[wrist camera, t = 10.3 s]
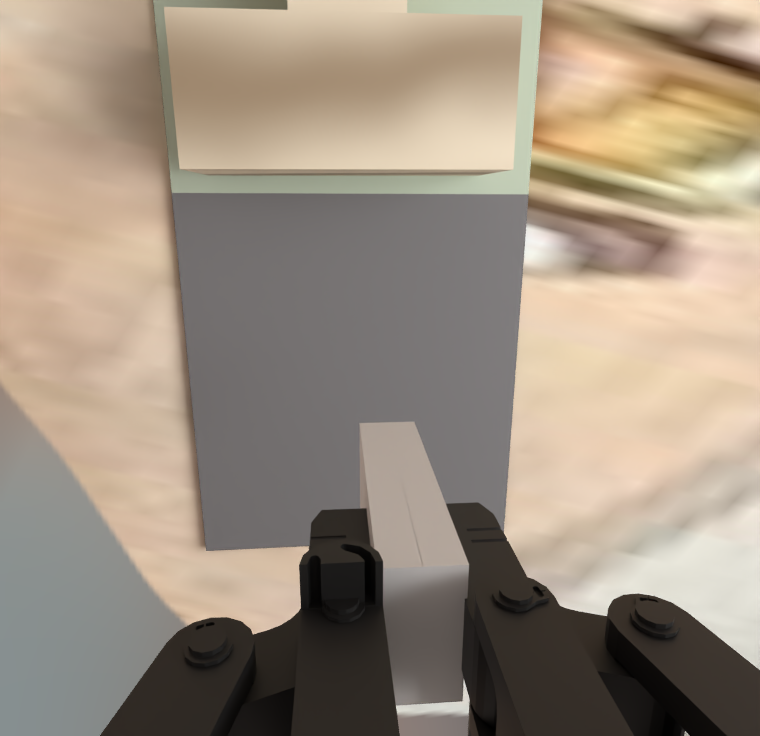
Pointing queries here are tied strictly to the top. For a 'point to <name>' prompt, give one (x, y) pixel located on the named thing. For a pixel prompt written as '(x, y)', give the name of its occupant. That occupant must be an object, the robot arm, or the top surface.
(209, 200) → the mat
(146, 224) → the top surface
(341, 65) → the t block
